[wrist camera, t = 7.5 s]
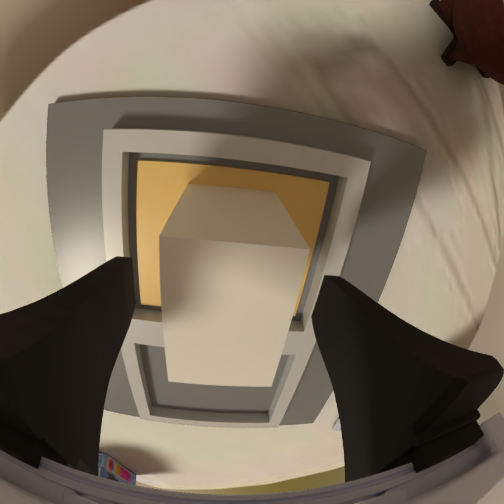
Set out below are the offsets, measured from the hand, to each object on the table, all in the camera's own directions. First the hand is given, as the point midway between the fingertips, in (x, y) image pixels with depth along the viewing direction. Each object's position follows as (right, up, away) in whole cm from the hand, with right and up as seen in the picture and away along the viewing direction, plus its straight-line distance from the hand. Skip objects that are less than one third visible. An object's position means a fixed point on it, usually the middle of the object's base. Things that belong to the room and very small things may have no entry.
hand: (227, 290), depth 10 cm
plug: (0, +2, +4) cm, 4 cm away
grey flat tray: (-1, -3, +7) cm, 7 cm away
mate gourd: (+14, +15, -1) cm, 20 cm away
